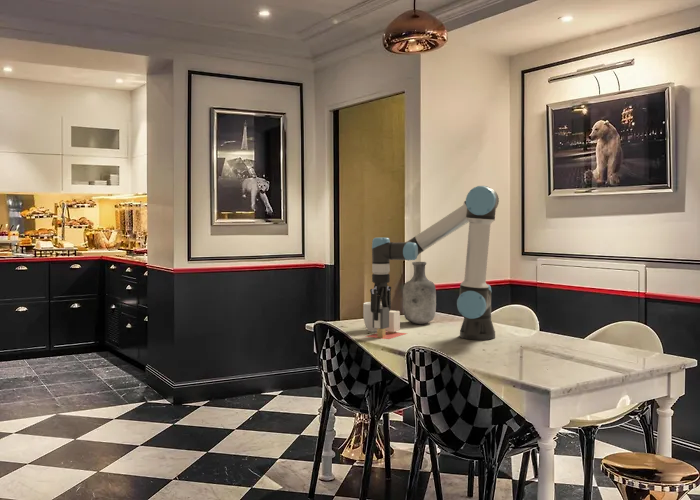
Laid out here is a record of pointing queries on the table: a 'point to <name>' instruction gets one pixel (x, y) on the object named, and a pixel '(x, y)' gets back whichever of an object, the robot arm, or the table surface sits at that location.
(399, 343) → the table surface
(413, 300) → the vase
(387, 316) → the dark gray block
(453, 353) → the table surface
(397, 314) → the stand
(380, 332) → the post
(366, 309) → the mug
